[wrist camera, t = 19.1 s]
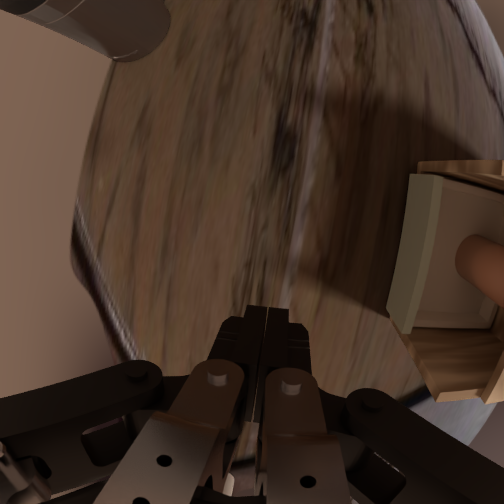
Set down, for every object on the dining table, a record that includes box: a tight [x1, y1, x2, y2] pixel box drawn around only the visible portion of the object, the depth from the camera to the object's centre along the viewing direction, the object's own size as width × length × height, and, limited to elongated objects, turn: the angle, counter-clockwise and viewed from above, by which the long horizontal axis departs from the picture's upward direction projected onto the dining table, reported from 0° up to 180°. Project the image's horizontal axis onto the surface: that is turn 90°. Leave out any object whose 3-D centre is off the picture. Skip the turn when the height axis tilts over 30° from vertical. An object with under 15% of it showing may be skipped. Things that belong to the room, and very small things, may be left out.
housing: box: [389, 160, 504, 404], centre depth 22 cm, size 18×14×16 cm
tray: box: [386, 174, 504, 334], centre depth 26 cm, size 15×13×6 cm
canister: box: [455, 234, 504, 309], centre depth 22 cm, size 6×6×11 cm
